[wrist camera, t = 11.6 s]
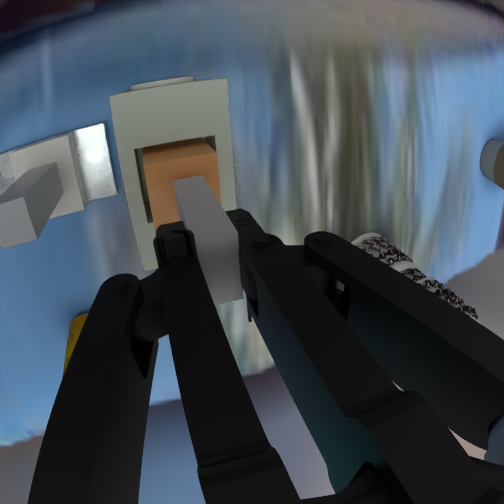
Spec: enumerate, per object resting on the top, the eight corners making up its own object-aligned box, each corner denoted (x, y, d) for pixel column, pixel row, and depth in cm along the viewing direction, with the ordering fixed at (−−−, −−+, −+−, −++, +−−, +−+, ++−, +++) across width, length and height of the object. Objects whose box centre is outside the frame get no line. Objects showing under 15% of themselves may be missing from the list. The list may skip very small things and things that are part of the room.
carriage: (34, 216, 26) (-3, 277, 17) (16, 149, 23) (-38, 186, 14) (87, 202, 28) (66, 261, 19) (72, 131, 24) (35, 159, 15)
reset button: (152, 201, 22) (155, 231, 18) (143, 147, 20) (143, 165, 16) (206, 191, 23) (222, 218, 19) (200, 137, 21) (216, 152, 17)
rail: (-62, 243, 24) (-68, 249, 23) (-81, 189, 20) (-87, 194, 19) (117, 189, 30) (117, 194, 29) (105, 121, 26) (103, 123, 25)
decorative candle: (359, 220, 42) (502, 343, 21) (397, 240, 46) (519, 345, 26) (325, 277, 45) (439, 415, 24) (366, 289, 49) (469, 405, 29)
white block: (141, 208, 32) (144, 271, 22) (122, 87, 25) (108, 89, 15) (207, 195, 33) (240, 250, 24) (196, 76, 27) (226, 72, 17)
